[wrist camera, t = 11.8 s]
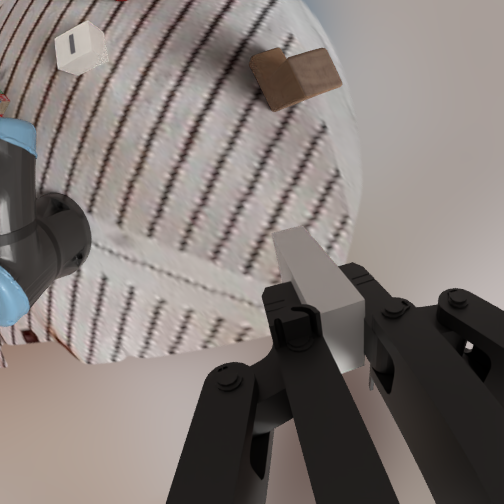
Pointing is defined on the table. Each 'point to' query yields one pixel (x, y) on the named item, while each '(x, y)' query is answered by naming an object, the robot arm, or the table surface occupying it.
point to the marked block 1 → (81, 49)
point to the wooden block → (293, 76)
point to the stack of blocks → (3, 103)
